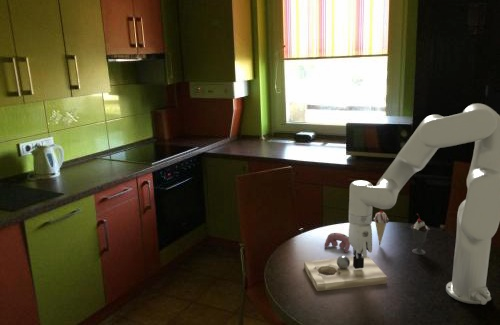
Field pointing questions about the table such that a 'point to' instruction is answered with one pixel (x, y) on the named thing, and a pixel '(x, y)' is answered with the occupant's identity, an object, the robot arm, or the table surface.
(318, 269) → the hole board
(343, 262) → the steel ball
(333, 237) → the video game controller
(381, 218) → the ice cream cone
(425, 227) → the sundae
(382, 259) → the table surface
